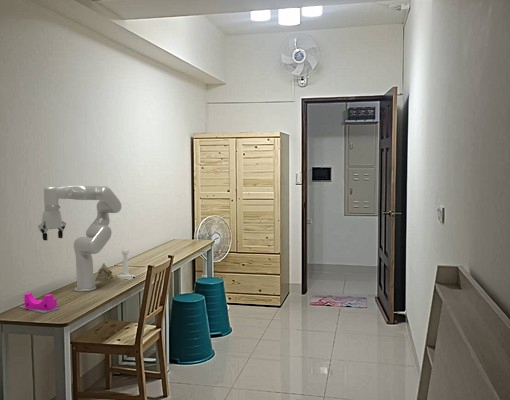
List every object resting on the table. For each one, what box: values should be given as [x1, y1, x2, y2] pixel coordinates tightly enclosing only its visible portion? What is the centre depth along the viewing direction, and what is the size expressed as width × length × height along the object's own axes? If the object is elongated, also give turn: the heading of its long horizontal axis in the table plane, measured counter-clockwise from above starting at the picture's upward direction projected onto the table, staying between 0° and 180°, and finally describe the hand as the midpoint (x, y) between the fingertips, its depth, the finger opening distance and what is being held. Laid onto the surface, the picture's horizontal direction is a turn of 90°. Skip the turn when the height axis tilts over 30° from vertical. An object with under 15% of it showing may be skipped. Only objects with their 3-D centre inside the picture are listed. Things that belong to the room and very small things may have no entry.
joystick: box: [116, 247, 136, 278], centre depth 358 cm, size 11×8×20 cm
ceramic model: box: [95, 262, 114, 281], centre depth 359 cm, size 14×11×10 cm
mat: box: [18, 304, 60, 314], centre depth 287 cm, size 9×22×1 cm, turn 55°
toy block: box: [23, 292, 58, 311], centre depth 285 cm, size 15×6×8 cm, turn 72°
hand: (52, 239), depth 307 cm, fingers open, 9 cm apart
